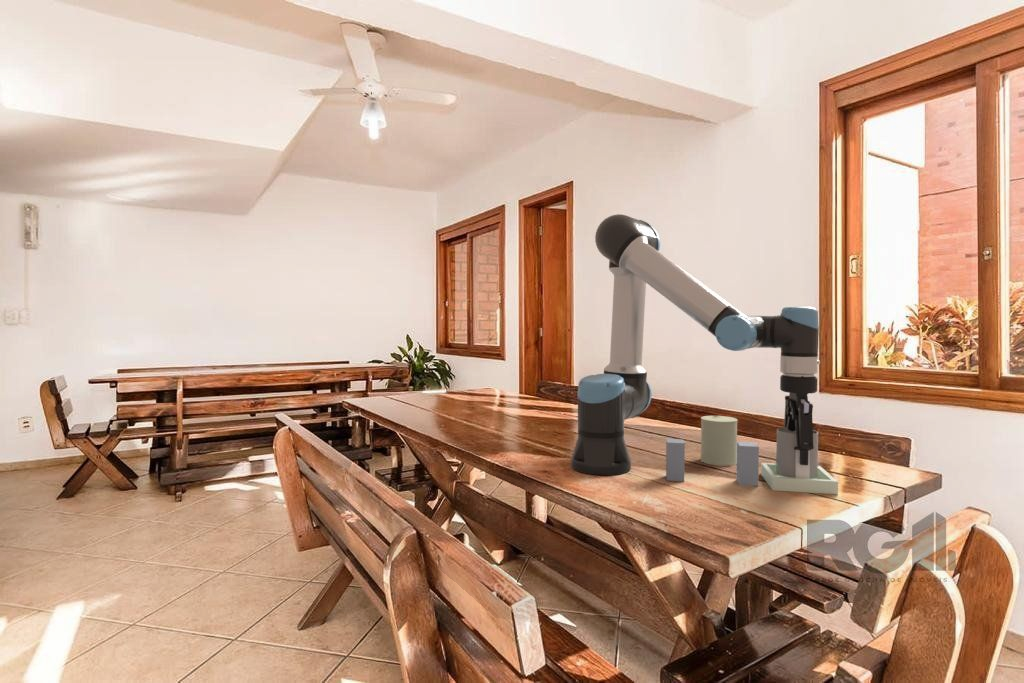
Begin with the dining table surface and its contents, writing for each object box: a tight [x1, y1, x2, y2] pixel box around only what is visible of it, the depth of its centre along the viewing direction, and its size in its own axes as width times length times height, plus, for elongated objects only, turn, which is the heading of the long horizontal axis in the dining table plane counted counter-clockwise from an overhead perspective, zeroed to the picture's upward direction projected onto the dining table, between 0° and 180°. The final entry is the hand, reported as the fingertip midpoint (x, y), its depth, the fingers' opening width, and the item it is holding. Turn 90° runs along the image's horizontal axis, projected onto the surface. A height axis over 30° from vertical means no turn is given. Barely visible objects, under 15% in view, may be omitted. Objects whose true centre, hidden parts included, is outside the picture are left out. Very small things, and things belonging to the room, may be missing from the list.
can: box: [700, 415, 738, 467], centre depth 147 cm, size 9×9×12 cm
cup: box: [775, 426, 819, 479], centre depth 127 cm, size 8×8×10 cm
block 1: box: [665, 438, 686, 482], centre depth 131 cm, size 4×4×9 cm
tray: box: [760, 462, 839, 495], centre depth 127 cm, size 13×13×3 cm
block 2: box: [736, 441, 760, 487], centre depth 128 cm, size 4×4×9 cm
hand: (796, 472), depth 127 cm, fingers closed on cup, 8 cm apart
